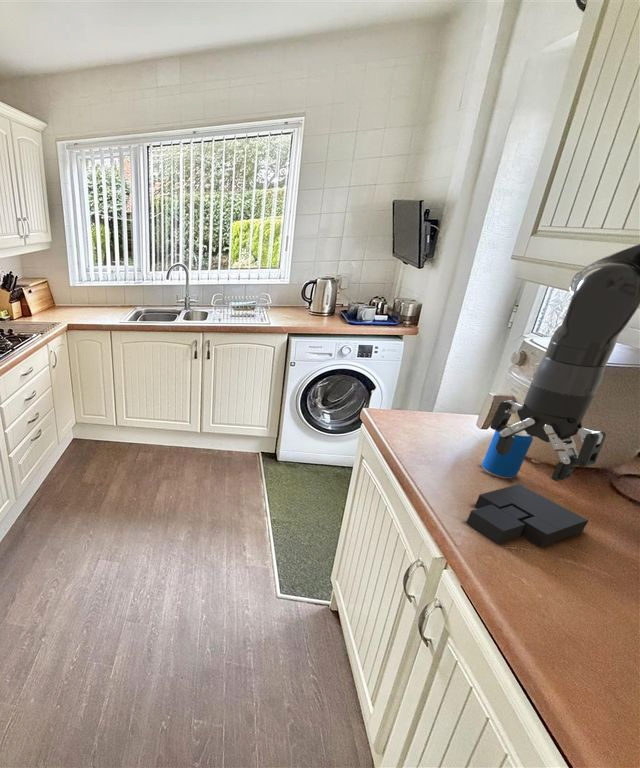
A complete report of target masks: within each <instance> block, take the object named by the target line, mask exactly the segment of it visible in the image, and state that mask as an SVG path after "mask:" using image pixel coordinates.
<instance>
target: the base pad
mask: <svg viewBox="0 0 640 768" xmlns="http://www.w3.org/2000/svg"><path fill="white" fill-rule="evenodd" d="M489 505H494V506H495V507H497V508H499V509H502V508H506V507H509V506H513V507H515V508H517V509H519V510H520V511H522V512H524V513H526V514H527V515H529V516H528V518H527V519H525V520H523V521H522V523H524V524H525V526H524V528H523V530H522V533H521V535H520V536H521V537H523V538H525V539H526V540H528V541H530V542H531V543H533V544H534V545H536V546H538V547H539V548H543V547H545V546H548V545H551V544H554V543H556V542H559V541H562V540H564V539H565V540H566V539H568V538H570V537H573V536H576V535H579V534H582V533H583V532H584V529H585V528H586V526H587V524H588V523H589V519H588V518H585V517H583V516H581V515H580V514H577V513H575V511H572V510H571V509H568V508H566V507H564V506H562V505H560V504H559V503H556V502H555V501H553V500H550V499H549V498H547V497H545V496H543V495H541V494H539V493H537V492H535V491H533V490H532V489H530V488H527V487H526V486H524V485H521V484H520V483H516V484H513V485H510V486H506V487H502V488H499V489H496V490H492V491H491V490H490V491H487V492H485V493H480V494H479V495H478V497H477V500H476V502H475V504H474V508H476V509H479V508H482V507H485V506H489Z"/></svg>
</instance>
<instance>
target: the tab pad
mask: <svg viewBox="0 0 640 768" xmlns="http://www.w3.org/2000/svg"><path fill="white" fill-rule="evenodd" d="M528 516H529V515H527V514H526V513H524V512H522V511H520V510H519V509H517V508H515V507H513V506H509V507H506V508H502V509H499V508H497V507H495V506H494V505H489V506H485V507H482V508H479V509H478V508H476V509H473V510H470V511H469V514H468V517H467V519H466V522H465V524H467V525H469V526H470V527H472V528H473V529H475V530H476V531H478V532H479V533H480V534H482V535H483V536H486V537H487V538H488V539H490V540H491V541H493V542H494V543H496V544H497V545H498V544H499V545H500V544H502V543H505V542H509V541H511V540H513V539H517V538H519V537H521V536H522V535H521V533H522V530H523V528H524V526H525V524H524V523H522V521H523V520H525V519H527V518H528Z"/></svg>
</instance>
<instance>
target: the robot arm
mask: <svg viewBox="0 0 640 768" xmlns="http://www.w3.org/2000/svg"><path fill="white" fill-rule="evenodd" d="M569 284H570V285H569V291H570V294H571V295H572V296H571V299H570V302H569V305H568V306H567V309H566V311H565V315H564V317H563V320H562V322H561V323H560V324H559V325H558V326H557V327H556V328H555V330H554V332H553V334H552V335H551V337H550V341H549V343H548V345H547V348H546V350H545V353H544V355H543V357H542V359H541V361H540V362H539V364H538V365H537V367H536V370H535V372H534V373H533V374H532V380H531V382H530V384H529V388H528V390H527V392H526V394H525V397H524V399H523V404H518V403H517V401H516V400H514V399H510V400H509V399H507V400H505V401H501V402H499V405H498V408H497V409H496V411H495V413H494V416H493V418H492V420H491V423H490V424H489V428H490V429H491V430H495V431H498V432H499V434H500V437H499V440H498V443H497V445H496V450H498V451H497V454H500V455H506V454H508V453H509V451H510V449H511V446H512V444H513V441H514V439H515V437H514V436H513V435H514V434H516V433H519V432H521V431H524V430H525V431H526V432H527V434H528V435H531V436H532V437H534V438H537V439H540V440H541V441H542V442H546V443H550V444H551V446H552V448H553V450H554V452H555V451H556V453H557V455H558V458H559V459H560V460H559V461H558V462H557V464H556V466H555V468H554V471H553V473H552V475H551V477H550V479H551V480H553V481H555V482H558V481H563V480H567V479H569V478H570V477H571V476H572V473H573V471H574V469H575V468H576V466H578V467H580V468H584V467H587V466H591V465H595V464H596V462H597V460H598V458H599V455H600V452H601V449H602V448H603V445H604V443H605V439H606V436H607V433H606V432H605V431H602V430H597V431H594V430H590V429H587V428H584V427H583V425H582V422H583V420H584V419H585V417H586V414H587V413H588V410H589V408H590V406H591V403H592V402H593V399H594V397H595V395H596V393H597V391H598V389H599V387H600V384H601V383H602V380H603V377H604V374H605V369H606V367H607V364H608V362H609V360H610V358H611V356H612V353H613V351H614V349H615V346H616V345H617V341H618V339H619V336H620V335H621V334H622V332H623V331H624V330H625V328H626V327H627V325H628V324H629V323H630V321H631V320H632V318H633V316H634V315H635V314H636V312H637V310H638V309H639V307H640V243H637V244H634V245H632V246H629V247H627V248H624V249H622V250H619V251H616V252H614V253H612V254H608V255H607V256H603V257H602V258H599V259H597V260H596V261H593V262H591V263H589V264H587V265H585V266H584V267H583V268H581V269H580V270H579V271H577V272H576V273H575V274H574V276H573V277H572V279H571V281H570V283H569ZM516 412H517V416H518V418H519V422H516V423H515V424H514V425H512V426H510V427H508V426H506V425H507V424H509V421H510V418H511V417H512V415H513V414H516ZM576 435H579V439H580V440H579V441H580V443H582V445H581V448H580V451H579V453H578V451H577V444H576V441H575V440H574V437H573V436H576Z"/></svg>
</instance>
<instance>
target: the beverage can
mask: <svg viewBox="0 0 640 768" xmlns="http://www.w3.org/2000/svg"><path fill="white" fill-rule="evenodd" d="M512 425H515V424H514V423H507V425H506V426H508V427H510V426H512ZM513 436H514V437H515V439H514V441H513V444H512V446H511V449H510V451H509V453H508V454H506V455H500V454H497V451H498V450H496V445H497V443H498V440H499V437H500V434H499V432H498V431H496V430H495V431H494V433H493V436H492V438H491V440H490V443H489V445H488V447H487V451H486V453H485V456H484V458H483V461H482V463H481V467H482V468H483V469H484V470H485V472H487V473H488V474H490V475H491V476H493V477H496V478H500V479H511V478H516V477H517V476H518V473H519V471H520V470H521V467H522V465H523V463H524V460H525V458H526V457H527V454H528V452H529V449H530V447H531V446H532V442H533V440H534V436H531V435H528V434H527V432H526V431H525V430H524V431H521V432H519V433H516V434H514V435H513Z"/></svg>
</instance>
